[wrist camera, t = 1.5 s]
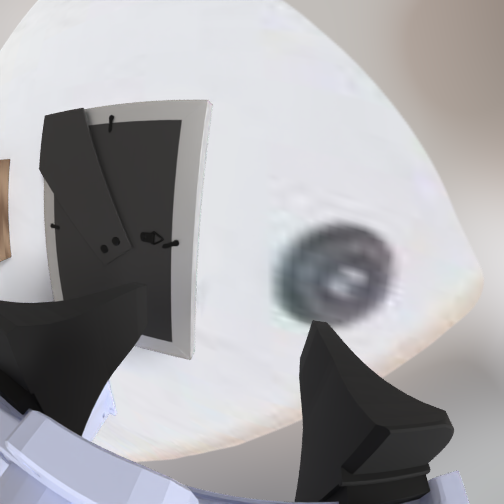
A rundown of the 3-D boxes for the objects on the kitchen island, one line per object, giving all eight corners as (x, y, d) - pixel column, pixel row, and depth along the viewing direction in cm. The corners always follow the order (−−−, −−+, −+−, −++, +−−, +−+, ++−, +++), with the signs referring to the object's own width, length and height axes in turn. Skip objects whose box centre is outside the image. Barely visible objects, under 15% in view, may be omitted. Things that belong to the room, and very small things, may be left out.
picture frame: (63, 118, 19) (68, 311, 25) (44, 115, 16) (54, 322, 22) (215, 106, 18) (196, 347, 24) (205, 96, 15) (188, 365, 21)
